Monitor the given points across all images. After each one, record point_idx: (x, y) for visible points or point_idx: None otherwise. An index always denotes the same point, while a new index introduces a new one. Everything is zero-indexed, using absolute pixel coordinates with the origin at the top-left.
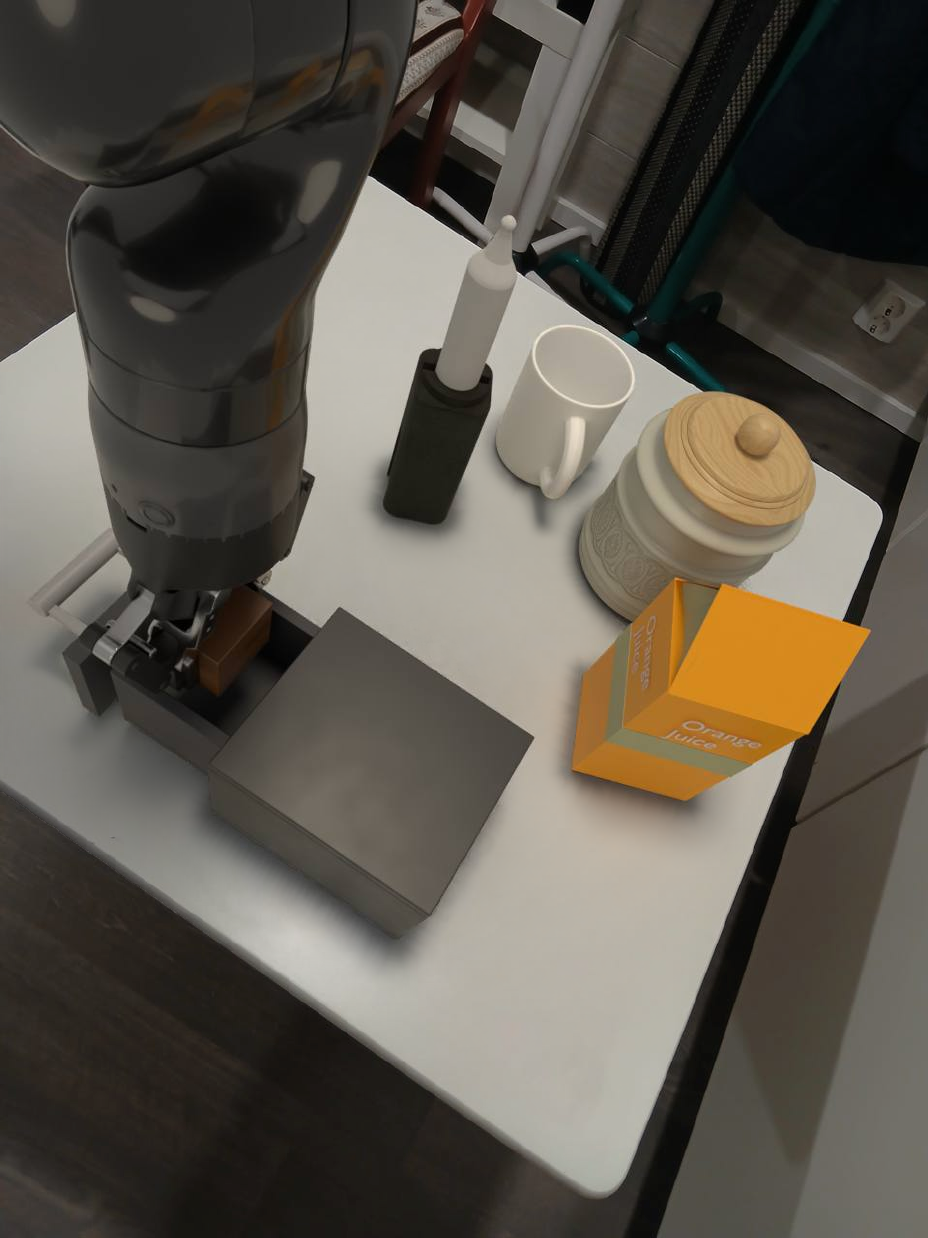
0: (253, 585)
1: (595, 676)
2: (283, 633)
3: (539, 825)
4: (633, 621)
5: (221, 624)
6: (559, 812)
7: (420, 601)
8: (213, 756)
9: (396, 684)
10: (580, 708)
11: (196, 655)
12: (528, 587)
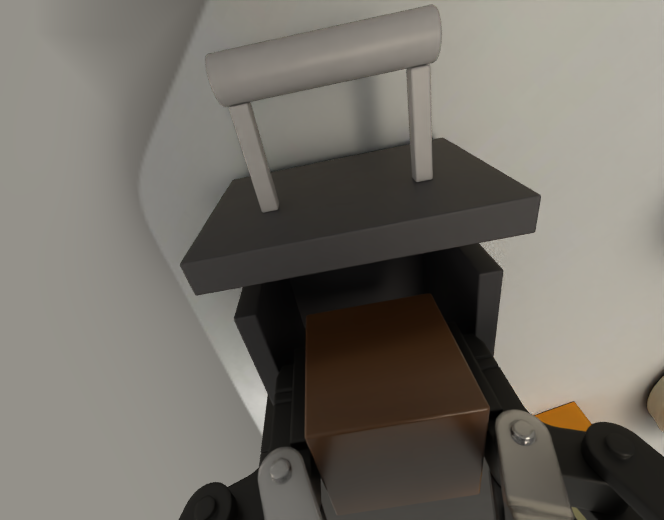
0: (490, 477)
1: None
2: None
3: None
4: (648, 401)
5: (391, 488)
6: None
7: (577, 291)
8: None
9: (473, 496)
10: (544, 415)
11: (321, 501)
12: (645, 337)
